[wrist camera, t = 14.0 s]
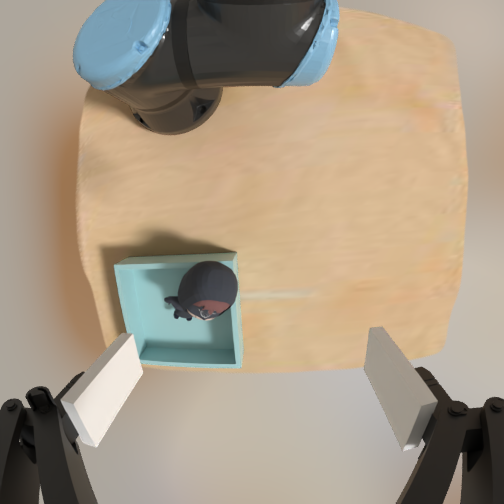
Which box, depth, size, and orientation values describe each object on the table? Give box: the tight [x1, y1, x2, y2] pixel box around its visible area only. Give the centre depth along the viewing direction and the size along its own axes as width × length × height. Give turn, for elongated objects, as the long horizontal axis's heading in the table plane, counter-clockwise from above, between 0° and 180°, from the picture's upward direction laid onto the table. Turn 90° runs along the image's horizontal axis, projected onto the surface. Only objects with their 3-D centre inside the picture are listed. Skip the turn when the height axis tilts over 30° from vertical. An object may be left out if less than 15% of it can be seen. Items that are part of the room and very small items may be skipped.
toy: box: [164, 261, 238, 321], centre depth 41 cm, size 9×8×15 cm
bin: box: [114, 252, 244, 368], centre depth 45 cm, size 18×19×6 cm
